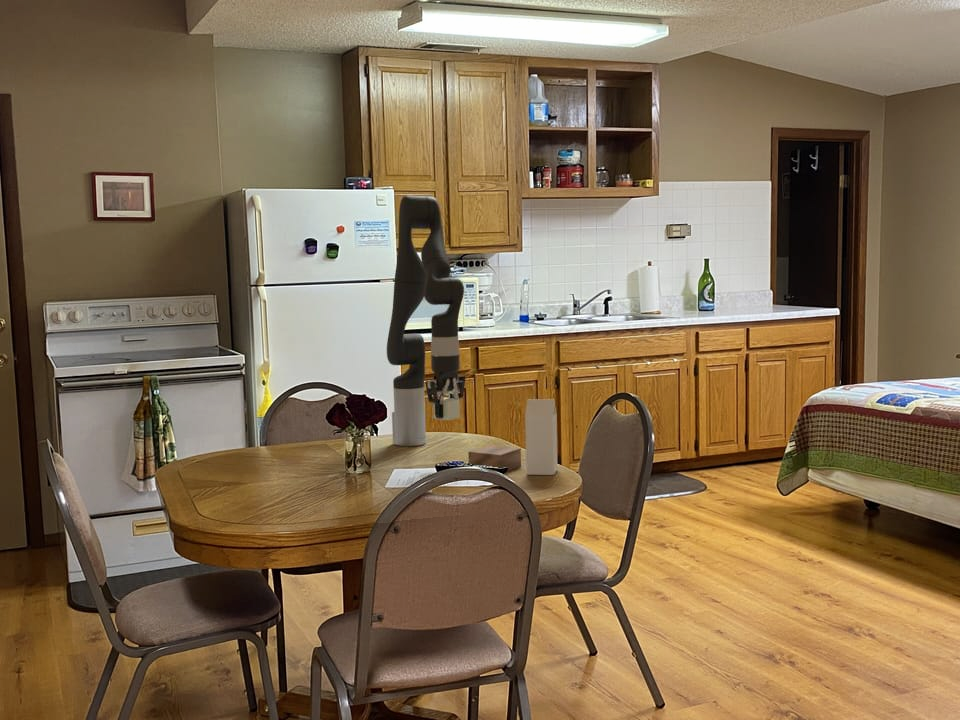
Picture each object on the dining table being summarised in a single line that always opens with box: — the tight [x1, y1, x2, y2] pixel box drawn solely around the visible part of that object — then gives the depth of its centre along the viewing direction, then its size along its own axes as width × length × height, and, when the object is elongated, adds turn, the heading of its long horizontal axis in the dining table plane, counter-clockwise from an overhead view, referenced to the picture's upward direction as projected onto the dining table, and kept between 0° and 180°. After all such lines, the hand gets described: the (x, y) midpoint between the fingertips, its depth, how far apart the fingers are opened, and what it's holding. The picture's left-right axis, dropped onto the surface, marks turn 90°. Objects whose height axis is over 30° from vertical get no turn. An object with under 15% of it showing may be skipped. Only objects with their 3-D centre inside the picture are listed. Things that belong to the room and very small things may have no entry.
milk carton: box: [524, 398, 558, 476], centre depth 257 cm, size 7×7×19 cm
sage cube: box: [432, 397, 461, 421], centre depth 268 cm, size 5×5×5 cm
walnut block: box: [468, 445, 522, 471], centre depth 266 cm, size 10×10×5 cm
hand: (446, 416), depth 268 cm, fingers closed on sage cube, 5 cm apart
